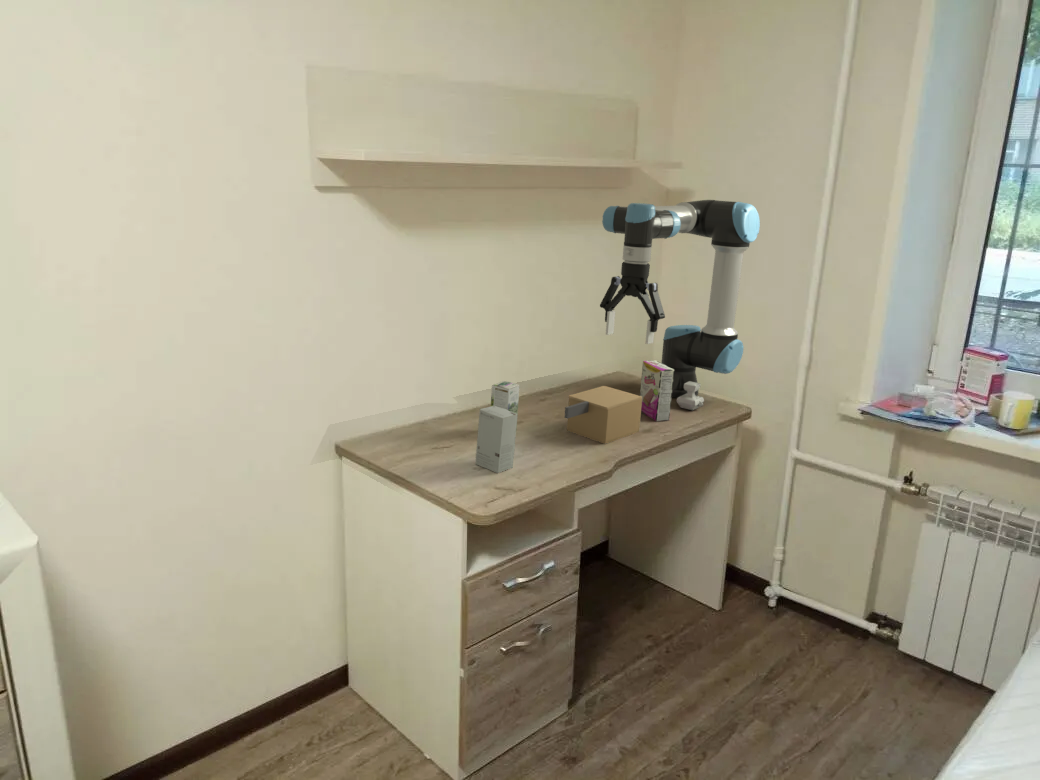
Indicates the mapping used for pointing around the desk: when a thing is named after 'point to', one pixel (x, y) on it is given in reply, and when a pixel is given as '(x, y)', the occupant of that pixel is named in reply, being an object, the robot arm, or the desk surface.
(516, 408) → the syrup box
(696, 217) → the robot arm
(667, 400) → the candy bar box
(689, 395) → the stamp
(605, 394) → the flap
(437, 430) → the desk surface
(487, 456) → the skincare box
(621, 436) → the carton
